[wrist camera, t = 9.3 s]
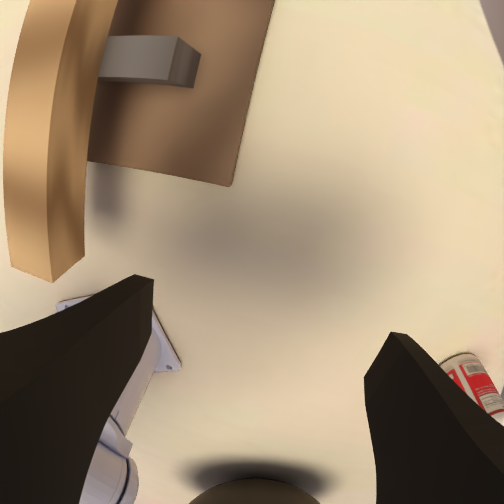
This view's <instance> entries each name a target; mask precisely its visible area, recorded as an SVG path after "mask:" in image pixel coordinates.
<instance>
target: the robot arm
mask: <svg viewBox="0 0 504 504" xmlns="http://www.w3.org/2000/svg"><path fill="white" fill-rule="evenodd" d="M153 286H154V279H150V278H146V277H143V276H139V275H136V274H134V275H132V276H130V277H128V278H126V279H124V280H122V281H120V282H118V283H116V284H114V285H112V286H110V287H108V288H106V289H104V290H103V291H101V292H99V293H97V294H95V295H92V296H87V297H82V298H77V299H72V300H67V301H62V302H59V303H57V304H56V309H57V311H58V312H57V313H55V314H53V315H51V316H48V317H46V318H44V319H41V320H39V321H36V322H33V323H31V324H28V325H25V326H22V327H19V328H16V329H13V330H10V331H6V332H2V333H0V504H134V501H135V499H136V496H137V492H138V486H139V479H138V470H137V466H136V463H135V462H134V460H133V459H132V458H130V457H129V456H128V455H129V453H130V450H131V448H132V445H133V444H132V443H131V442H130V441H129V440H127V439H126V438H125V436H126V434H127V432H128V429H129V427H130V425H131V422H132V420H133V418H134V415H135V413H136V411H137V408H138V406H139V404H140V402H141V399H142V397H143V395H144V393H145V390H146V388H147V386H148V384H149V381H150V379H151V377H152V375H153V373H154V372H168V371H179V370H180V368H181V363H180V361H179V359H178V358H177V356H176V354H175V352H174V350H173V348H172V347H171V345H170V343H169V341H168V339H167V337H166V335H165V333H164V331H163V330H162V328H161V326H160V324H159V322H158V320H157V318H156V316H155V314H154V312H153V310H152V307H153ZM169 365H170V366H169ZM364 393H365V406H366V412H367V417H368V423H369V429H370V434H371V440H372V446H373V452H374V458H375V465H376V482H377V498H376V504H504V426H503V425H501V424H500V423H499V422H498V421H496V420H495V419H494V418H493V417H492V416H490V415H489V414H488V413H487V412H486V411H484V410H483V409H482V408H481V407H480V406H479V405H478V404H477V403H476V402H474V401H473V400H472V399H471V398H470V397H469V396H468V395H467V394H466V393H465V392H464V391H463V390H462V389H461V388H460V387H459V386H458V385H457V384H456V383H455V382H454V381H453V380H452V379H451V378H450V377H449V375H448V374H447V373H446V372H445V371H444V370H443V369H442V368H441V367H440V366H439V365H438V364H437V363H436V362H435V361H434V360H433V359H432V358H431V357H430V356H429V355H428V353H427V352H426V351H425V350H424V349H423V348H422V347H421V346H420V345H418V344H417V343H416V342H415V341H414V340H413V339H412V338H411V337H409V336H408V335H407V334H402V333H396V332H390V334H389V336H388V338H387V339H386V341H385V343H384V345H383V346H382V348H381V350H380V352H379V353H378V355H377V357H376V358H375V360H374V362H373V363H372V365H371V367H370V368H369V370H368V371H367V373H366V375H365V376H364Z"/></svg>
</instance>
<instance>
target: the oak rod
mask: <svg viewBox="0 0 504 504" xmlns="http://www.w3.org/2000/svg"><path fill="white" fill-rule="evenodd" d="M117 2H118V0H30V3H29V6H28V9H27V12H26V16H25V19H24V22H23V26H22V29H21V33H20V37H19V41H18V45H17V49H16V54H15V58H14V63H13V68H12V74H11V80H10V86H9V93H8V100H7V109H6V118H5V131H4V151H3V188H4V208H5V221H6V231H7V240H8V247H9V255H10V261H11V267H14V268H16V269H18V270H21V271H23V272H26V273H28V274H31V275H33V276H36V277H38V278H41V279H43V280H46V281H48V282H51V283H53V282H55V281H56V280H57V279H58V278H59V277H60V276H61V275H63V274H64V273H65V272H66V271H67V270H68V269H70V268H71V267H72V266H73V265H74V264H75V263H77V262H78V261H79V260H80V259H81V258H83V257H84V256H85V248H84V201H85V178H86V163H87V152H88V141H89V132H90V124H91V117H92V110H93V103H94V97H95V91H96V86H97V80H98V75H99V70H100V66H101V61H102V57H103V52H104V48H105V44H106V40H107V36H108V32H109V29H110V25H111V22H112V18H113V15H114V12H115V8H116V5H117Z"/></svg>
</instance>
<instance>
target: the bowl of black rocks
mask: <svg viewBox="0 0 504 504" xmlns="http://www.w3.org/2000/svg"><path fill="white" fill-rule="evenodd" d="M189 504H320V503H319V502H318V501H317V500H316V499H315V498H313V497H312V496H311V495H309V494H308V493H306V492H304V491H303V490H301V489H299V488H297V487H295V486H292V485H289V484H286V483H283V482H279V481H275V480H269V479H241V480H235V481H230V482H226V483H223V484H220V485H217V486H215V487H213V488H210V489H208V490H207V491H205V492H203V493H202V494H200V495H199V496H197V497H196V498H195V499H194V500H192V501H191V502H190V503H189Z"/></svg>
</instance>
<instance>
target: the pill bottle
mask: <svg viewBox="0 0 504 504" xmlns="http://www.w3.org/2000/svg"><path fill="white" fill-rule="evenodd" d="M440 367H441V368H442V369H443V370H444V371H445V372H446V373H447V374H448V375H449V377H450V378H451V379H452V380H453V381H454V382H455V383H456V384H457V385H458V386H459V387H460V388H461V389H462V390H463V391H464V392H465V393H466V394H467V395H468V396H469V397H470V398H471V399H472V400H473V401H474V402H476V403H477V404H478V405H479V406H480V407H481V408H482V409H483V410H484V411H486V412H487V413H488V414H489V415H490V416H492V417H493V418H494V419H495V420H496V421H498V422H499V423H500V424H501V425H503V426H504V402H503V400H502V399H501V396H500V395H499V393H498V391H497V389H496V388H495V386H494V384H493V382H492V380H491V379H490V377H489V375H488V374H487V372H486V370H485V369H484V367H483V366H482V364H481V362H480V361H479V359H478V358H477V357H476V356H474V355H471V354H462V355H458V356H456V357H453V358H451V359H449V360H448V361H446V362H444V363H443V364H442V365H440Z"/></svg>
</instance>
